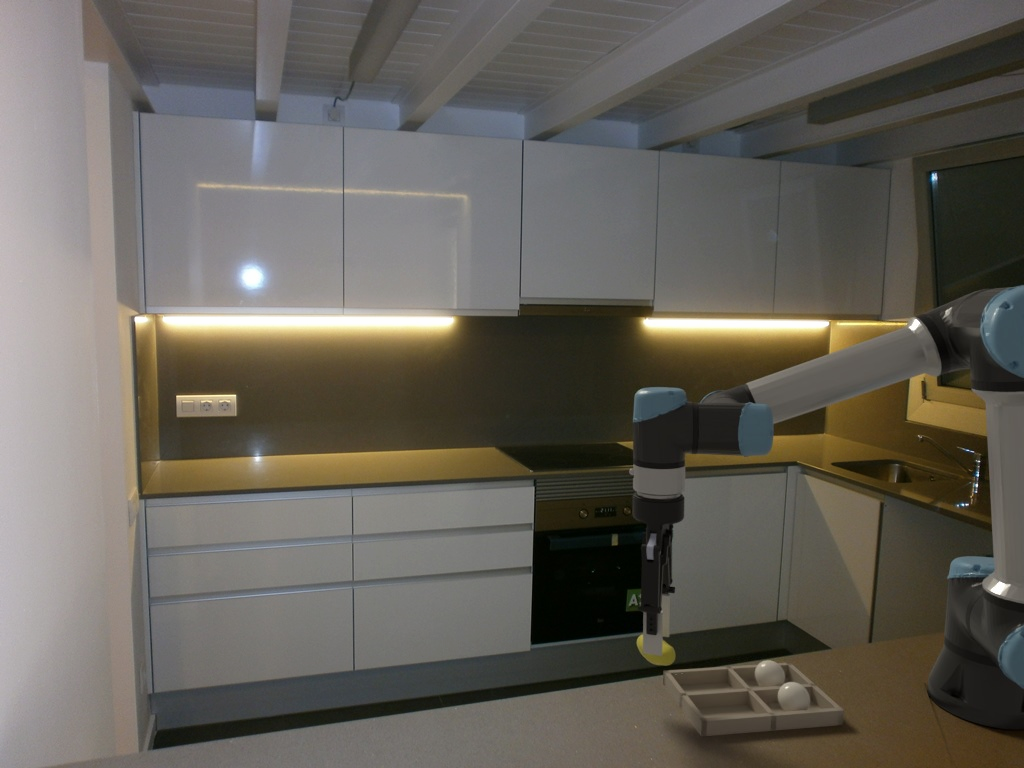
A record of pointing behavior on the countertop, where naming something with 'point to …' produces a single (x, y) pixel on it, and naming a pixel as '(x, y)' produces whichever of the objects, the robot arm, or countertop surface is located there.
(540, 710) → the countertop surface
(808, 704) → the egg back left
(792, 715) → the divided tray
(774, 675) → the egg back right
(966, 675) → the robot arm
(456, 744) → the countertop surface
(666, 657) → the yellow oval piece
